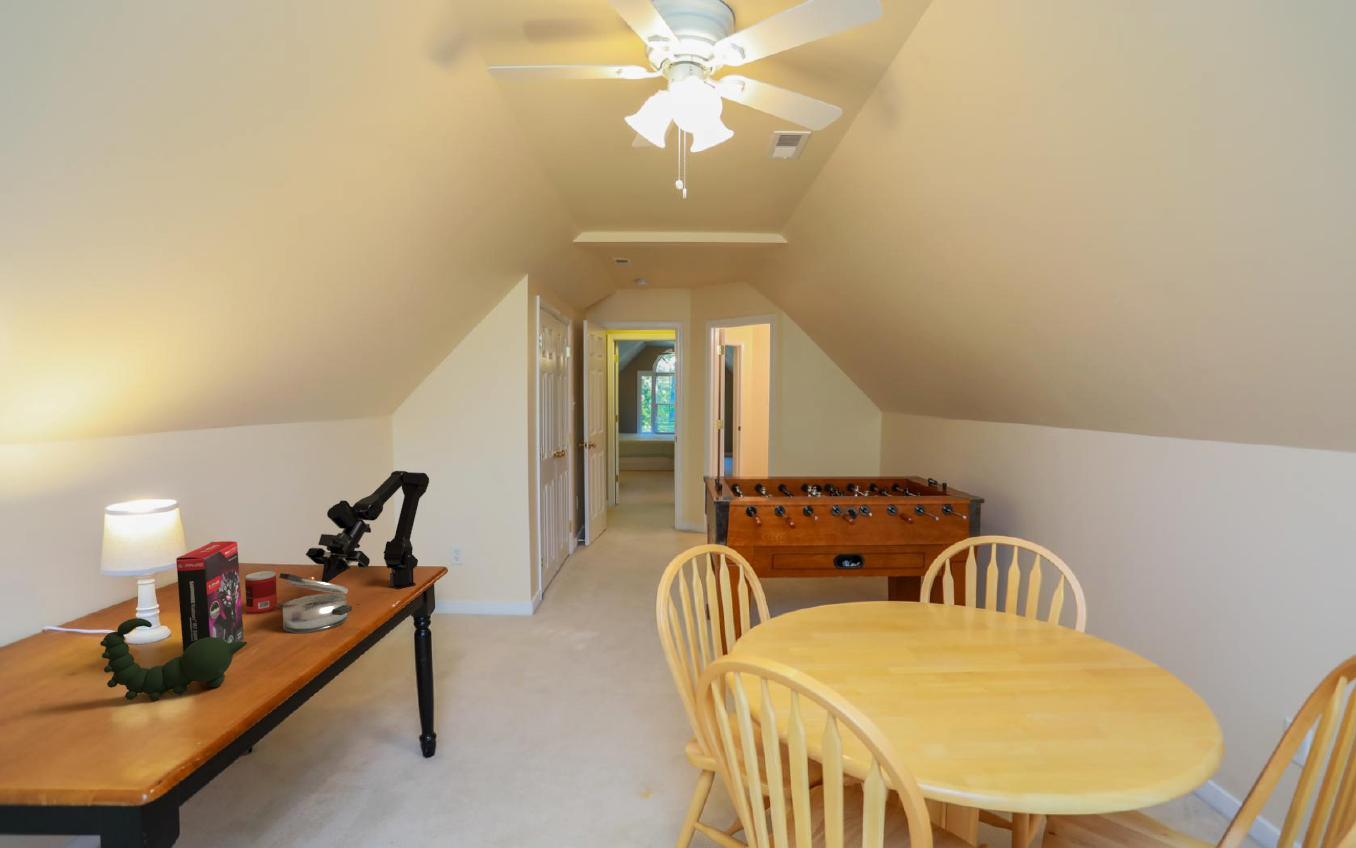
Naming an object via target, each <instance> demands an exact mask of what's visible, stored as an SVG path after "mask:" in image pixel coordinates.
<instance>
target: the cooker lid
mask: <svg viewBox="0 0 1356 848" xmlns="http://www.w3.org/2000/svg"><path fill="white" fill-rule="evenodd" d="M278 579H283V580H285V581H286V582H285V583H286V584H287V585H290V586H292V587H297V588H302V589H306V590H311V591H318V592H325V593H330V594H341V595H344V594H348V591H349V588H348V587H346V586H344V585H340V584H337V583H336V584H334V583H331V582H328V583H327V582H321V581H320V580H316V579H317V577H316V576H311V575H310V576H308V578H304V577H301V576H299V575H295V574H292V573H291V574H290V573H282V572H281V573H279V577H278Z"/></svg>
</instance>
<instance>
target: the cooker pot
mask: <svg viewBox="0 0 1356 848" xmlns="http://www.w3.org/2000/svg"><path fill="white" fill-rule="evenodd" d="M278 608H279V610H282V629H283V631H284V632H286V633H289V634H311V633H318V632H319V633H320V632H322V631H327V629H328V630H331V629H334V628H336V626H337V627H339V626H341V625H343V624H345V623H346V622H347V621H348V617H349V616H348V613H350V612H352V611H353V606H352V605H348V602H347V596H346V595H344V594H342V593H319V594H311V595H305V596H302V597H299V598H294V599H290V600H287V601H285V602H281V603H279V604H278ZM346 620H347V621H346ZM345 621H346V622H345ZM344 622H345V623H344ZM340 624H341V625H340ZM338 625H339V626H338ZM330 628H331V629H330Z"/></svg>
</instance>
